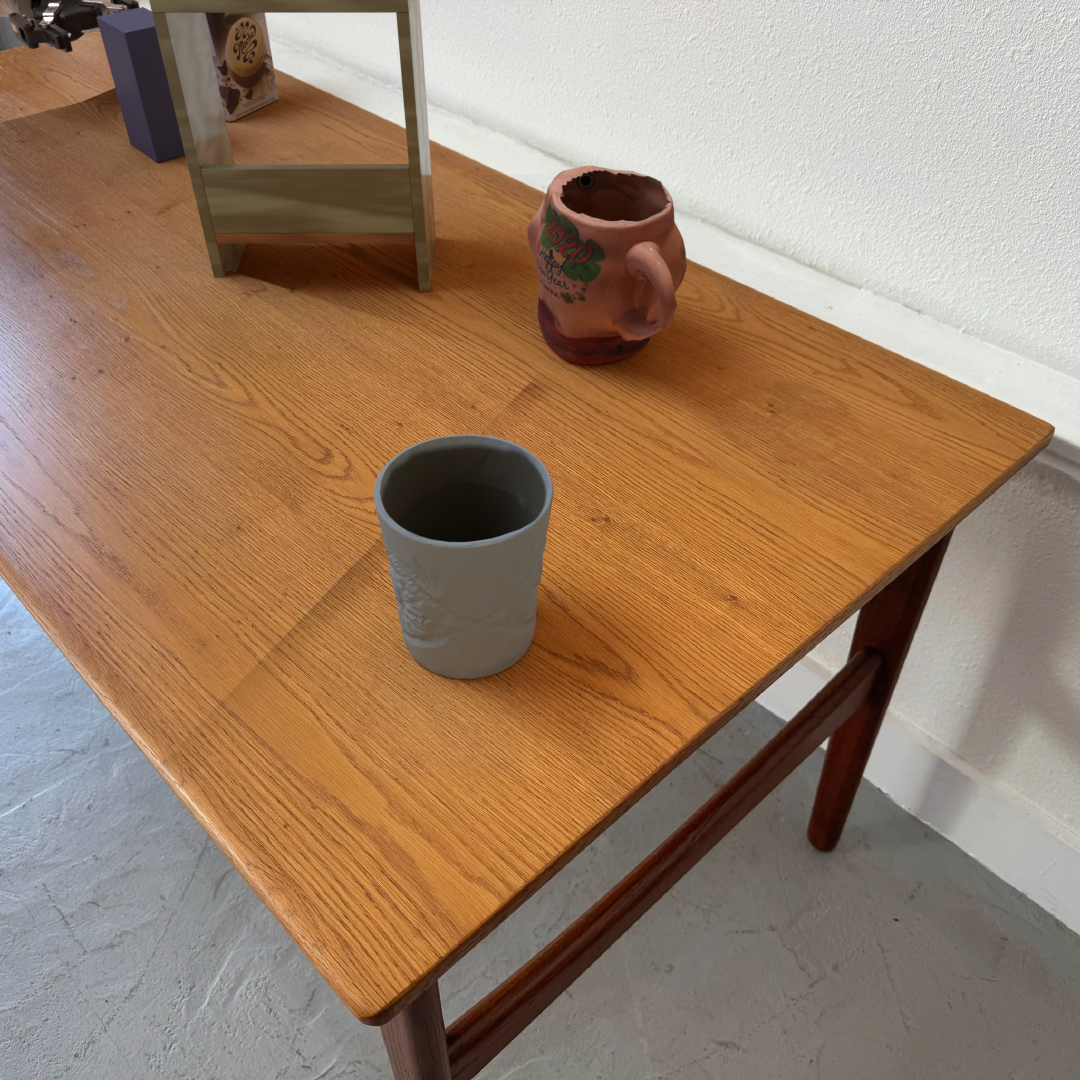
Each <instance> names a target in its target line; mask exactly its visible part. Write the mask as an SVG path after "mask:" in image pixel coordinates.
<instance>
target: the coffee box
mask: <svg viewBox="0 0 1080 1080" xmlns="http://www.w3.org/2000/svg"><path fill="white" fill-rule="evenodd" d="M204 17H205V22H206V27H207V32H208V37H209V42H210V47H211V52H212V57H213V62H214V67H215V72H216V77H217V82H218V87H219V92H220V96H221V101H222V106H223V111H224V116H225V121H226V122H234V121H236V120H238V119H240V118H242V117H244V116H246V115H249V114H251V113H253V112H255V111H257V110H259V109H261V108H263V107H266V106H268V105H269V104H272V103H274V102H276V101H278V100H279V99H280V98H279V92H278V85H277V80H276V74H275V67H274V60H273V54H272V49H271V43H270V36H269V31H268V24H267V23H268V22H267V18H266V17H267V16H266V13H204Z"/></svg>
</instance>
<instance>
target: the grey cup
mask: <svg viewBox="0 0 1080 1080" xmlns="http://www.w3.org/2000/svg"><path fill="white" fill-rule="evenodd" d="M554 493H555V491H554V483H553V480H552V477H551V475H550V472H549V470H548V469H547V467H546V466H545V464H544V463H543V462H542V461H541V460H540V459H539V458H538V457H537V455H535V454H534V453H532V452H531V451H530V450H528V449H526V448H525V447H524V446H522V445H519V444H517V443H515V442H514V441H513V442H512V441H510V440H508V439H504V438H500V437H496V436H493V435H483V434H473V433H471V434H454V435H446V436H438V437H434V438H430V439H427V440H423V441H420V442H418V443H415V444H413V445H410V446H409V447H407V448H405V449H403V450H402V451H400V452H398V453H397V454H396V455H395V456H393V457H392V458H391V459H390V460H389V461H388V462H386V463H385V465H384V466H383V467H382V469H381V470H380V472H379V474H378V475H377V477H376V479H375V483H374V487H373V500H374V506H375V511H376V515H377V518H378V522H379V526H380V530H381V531H380V532H381V536H382V541H383V547H384V550H385V552H386V554H387V556H388V568H389V572H390V573H389V574H390V578H391V582H392V587H393V591H394V596H395V597H394V598H395V599H396V601H397V607H398V608H397V613H398V617H399V623H400V628H401V632H402V637H403V641H404V644H405V646H406V648H407V650H408V652H409V653H410V655H411V656H412V657H413V658H414V660H415V661H416V662H417V663H418V664H419V665H421V667H423V668H425V669H426V670H428V671H430V672H432V673H434V674H437V675H439V676H442V677H446V678H449V679H456V680H476V679H481V678H487V677H490V676H494V675H496V674H499V673H501V672H503V671H505V670H507V669H508V668H510V667H512V666H513V665H514V664H516V663H517V662H519V660H520V659H522V658H523V656H524V655H525V654H526V652H527V651H528V649H529V648H530V646H531V643H532V641H533V639H534V635H535V631H536V623H537V611H538V594H539V590H538V587H539V586H540V583H541V582H542V574H543V567H544V566H543V565H544V564H543V562H544V553H545V549H546V545H547V534H548V530H549V525H550V521H551V520H550V519H551V514H552V509H553V500H554Z"/></svg>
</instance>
